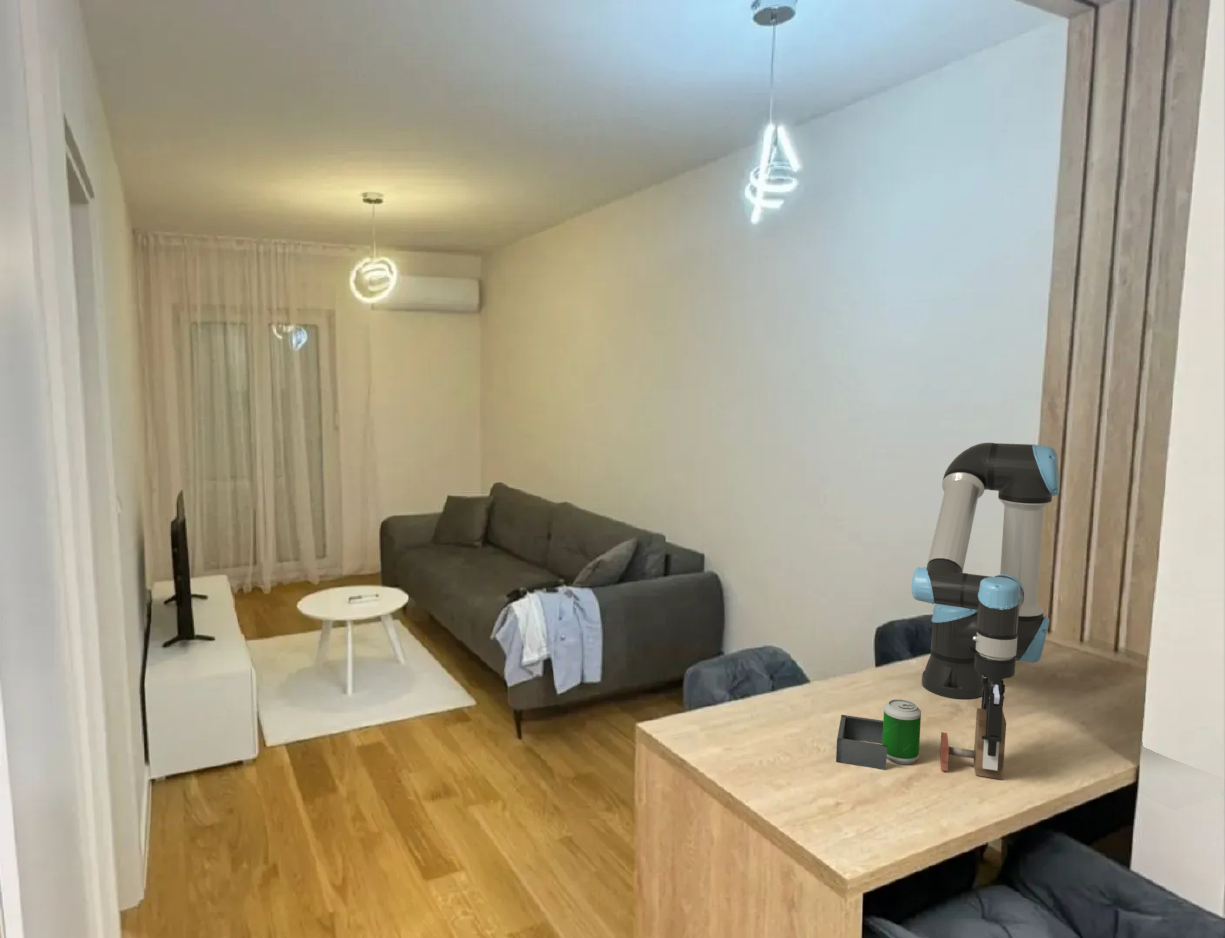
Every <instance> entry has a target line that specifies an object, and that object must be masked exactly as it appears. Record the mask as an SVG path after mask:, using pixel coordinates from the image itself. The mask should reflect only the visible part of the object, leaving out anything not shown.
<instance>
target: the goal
mask: <svg viewBox="0 0 1225 938" xmlns="http://www.w3.org/2000/svg"><path fill="white" fill-rule="evenodd" d="M882 739H883V720H882V719H875V718H867V717H861V716H852V715H847V714H841V715H840V721H839V727H838V732H837V738H836V753H835V754H836V755H835V756H836V757H835V759H836V760H835V762H836V763H840V764H846V765H853V766H860V767H865V768H866V767H867V768H871V769H876V770H877V769H878V770H884V771H886V770H887V760H888V759H887V745H882Z"/></svg>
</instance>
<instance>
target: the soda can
mask: <svg viewBox="0 0 1225 938" xmlns="http://www.w3.org/2000/svg"><path fill="white" fill-rule="evenodd" d="M921 720H922V711H921V709H920V708H919V707H918V705H917V703H915V702H913V701H910V700H907V699H901V698H900V699H899V698H895V699H891V700H889V701H888V702H886V703H885V704H884V706H883V720H882V721H883V739H882V745H887V760H889V762H891V763H894V764H897V765H911V764H913V763H914V762H915V761H917V760H918V759H919V754H920V742H921V741H920V740H921V724H922V723H921Z"/></svg>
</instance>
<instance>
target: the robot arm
mask: <svg viewBox="0 0 1225 938" xmlns="http://www.w3.org/2000/svg"><path fill="white" fill-rule="evenodd" d="M1059 471H1060V470H1059V460H1058V455H1057V451H1056V450H1055V449H1054V448H1053V447H1051V446H1047V445H1039V444H1035V443H1033V444H1030V443H1029V444H1028V443H1025V444H1024V443H1001V442H1000V443H996V442H995V443H994V442H981V443H978V444H975V445H972V446H970V447H969V448H967V449H964V450H963V451H962V452H961V453H960V454H958V455H957V456H955V458H953V460H952V461H951V463H949V465H948V467H947V468H946V470H945V472H944V475H943V478H942V482H941V488H942V490H943V492H944V493H943V497H942V501H941V506H940V509H939V513H938V517H937V522H936V526H935V529H934V535H933V539H932V542H931V547H930V550H929V555H928V559H927V563H926V567H925V566H924V567H916V568H915V570H914V571H913V574H912V579H911V594H912V597H913V598H914V599H915V600H916V601H919V602H923V603H928V604H932V605H934V606H933V610H932V617H931V637H930V639H931V640H930V653H929V654H930V655H929V658H928V660H927V663H926V666H925V668H924V669H925V670H923V672H922V674H921V685H922V687H923V688H924V689H925V690H928V691H929V692H931V693H933V694H936V695H939V696H942V697H945V698H952V699H958V700H959V699H962V700H963V699H965V700H969V699H971V700H972V699H977V698H981V706H980V707H981V709H986V735H985V736H982V739H984V751H983V766H982V767H983V769H990V770H997V769H998V754H999V742H1001V740H1002V739H1001V730H1002V712H1003V713H1004V709H1003V707H1004V700H1005V695H1004V694H1005V692H1006V685H1005V684H1004V679H1009V678H1012V677H1014V676H1015V673H1016V662H1020V663H1021V662H1025V663H1033V664H1034V663H1037V662H1039V661H1040V660H1041V658H1042V655H1043V650H1044V647H1045V646H1044V645H1045V642H1046V638H1047V633H1048V628H1049V626H1050V618H1049V617H1047V616H1044V608H1043V607H1042V606H1041V605H1040V604H1039V603H1038V597H1039V596H1038V595H1039V581H1040V570H1041V568H1040V567H1041V553H1042V552H1041V551H1042V542H1043V541H1042V539H1043V525H1044V523H1043V522H1044V512H1045V510H1044V509H1045V508H1047V506H1049V505H1050V504H1052V500H1053V499H1052V498H1053V496H1054V497H1055V496H1058V495H1059V494H1060V472H1059ZM985 490H988V491H996V492H998V498H997V499H998V500H999V501H1000V502H1001V503H1002V504H1003V506H1004V511H1003V521H1002V522H1003V524H1002V540H1001V552H1000V553H1001V557H1000V558H1001V559H1000V569H999V571H1000V572H999V574H997V575H995V576H989V575H982V574H972V573H966V572H964V567H965V564H966V563H965V562H966V558H967V553H968V549H969V548H968V547H969V543H970V539H971V533H972V529H973V524H974V519H975V514H976V509H977V505H978V499H980V498H981V497H982V496H983V495H984V493H985Z"/></svg>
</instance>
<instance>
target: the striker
mask: <svg viewBox="0 0 1225 938" xmlns="http://www.w3.org/2000/svg"><path fill="white" fill-rule="evenodd" d="M974 729H975V733H974V745H973V746H974V747H973V749H966V748H959V747H953V746H949V738H948V737H949V736H948V732H943V731H940V732H941V733H940V747H939V758H940V759H939V760H940V770H941V771H943V772H948V770H949V769H948V767H949V755H950V756H954V757H962V758H966V759H967V758H968V759H973V760H972V761H973V767H974V774H975V776H980V777H986V778H993V779H998V780H1003V776H1004V763H1005V762H1004V760H1005V747H1006V734H1007V732H1006V731H1007V720H1006V718H1005V714H1004V711H1003V712H1002V730H1001V739H1002V740H1001V742H999V754H998V769H997V770H990V769H983V767H982V766H983V751H984V739H982V736H985V735H986V709H981V708H979V707H976V716H975V728H974Z"/></svg>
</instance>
